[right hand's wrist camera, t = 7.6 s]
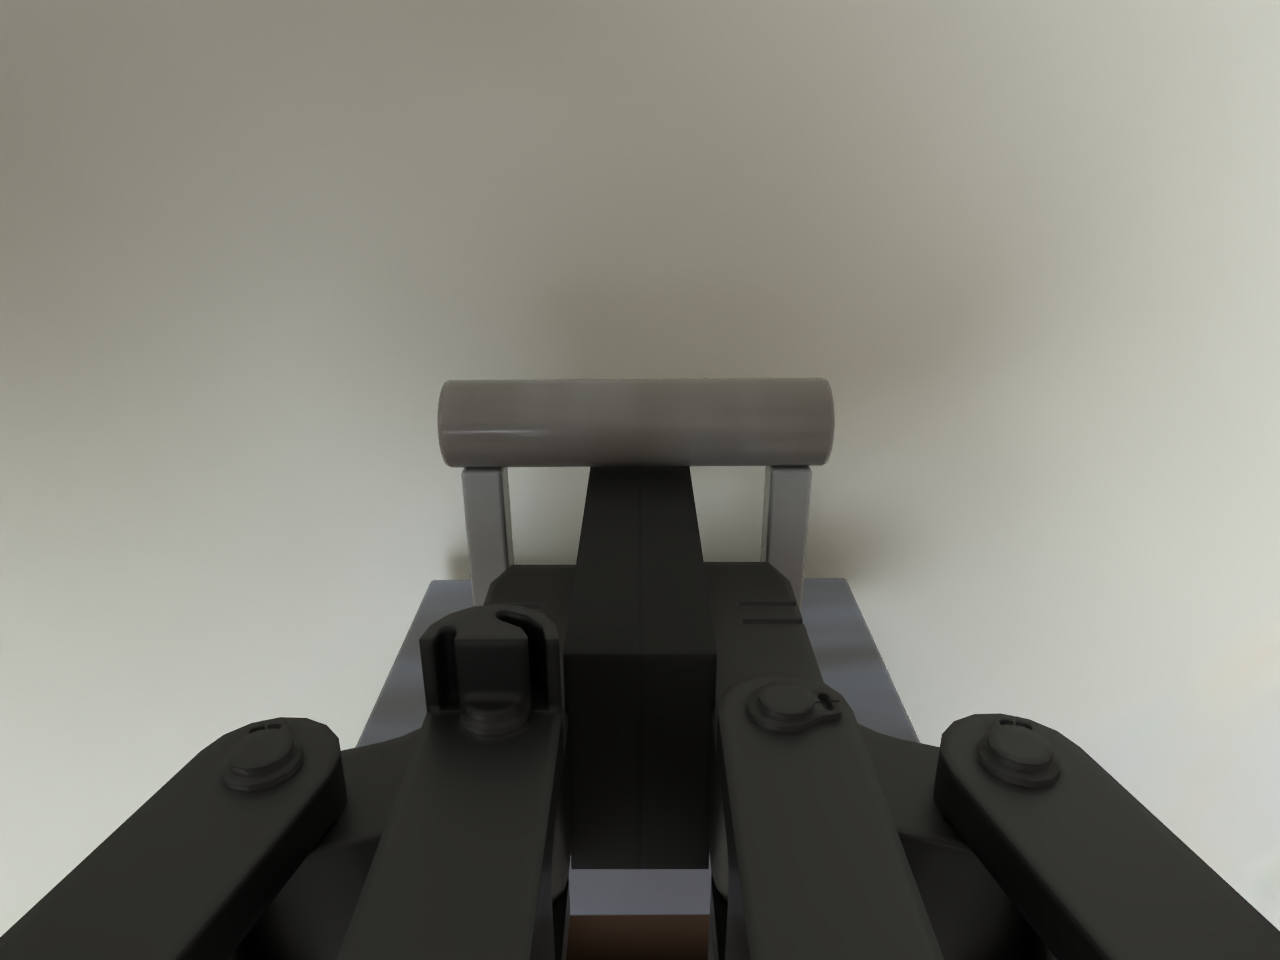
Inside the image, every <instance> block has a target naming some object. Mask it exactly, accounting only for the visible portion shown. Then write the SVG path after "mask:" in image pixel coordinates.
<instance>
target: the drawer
mask: <svg viewBox="0 0 1280 960" xmlns="http://www.w3.org/2000/svg"><path fill="white" fill-rule="evenodd" d="M438 438H439V445H440V450H441V454H442V457H443V460H444V462H445V464H446V465H447V466H450V467H465V468H464V470H463V472H462V486H463V497H464V508H465V519H466V530H467V541H468V552H469V563H470V574H471V580H434V581H431V583H430V585H429V587H428V589H427V591H426V594H425V596H424V598H423V600H422V602H421V605H420V607H419V609H418V611H417V614H416V616H415V618H414V620H413V622H412V625H411V627H410V629H409V631H408V633H407V636H406V638H405V640H404V642H403V644H402V647H401V649H400V651H399V653H398V655H397V658H396V660H395V662H394V664H393V666H392V669H391V671H390V673H389V675H388V677H387V680H386V682H385V684H384V686H383V688H382V691H381V693H380V695H379V697H378V699H377V702H376V704H375V706H374V708H373V710H372V713H371V715H370V717H369V719H368V721H367V724H366V726H365V728H364V730H363V732H362V735H361V737H360V739H359V741H358V743H357V746H356V748H357V747H362V746H366V745H371V744H375V743H380V742H384V741H387V740H391V739H394V738H398V737H401V736H404V735H406V734H408V733H410V732H412V731H414V730H417V729H419V728H421V727H422V724H423V721H424V719H425V716H426V713H427V708H426V699H425V690H424V681H423V672H422V663H421V654H420V645H419V639H420V637H421V636H422V635H423V634H424V632H425V631H426V630H427V629H428V627H429V626H430V625H431V624H433V623H435V622H436V621H438V620H440V619H442V618H443V617H445V616H447V615H448V614H450V613H454V612H457V611H460V610H464V609H467V608H470V607H473V606H483V604H484V601H485V598H486V595H487V592H488V589H489V586H490V583H491V582H493V581H494V580H495V579H496V578H497V577H498V576H500V575H501V574H502V573H503V572H504V571H505V570H506V569H508V568H509V567H510V566H511V565H514V557H513V543H512V528H511V514H510V499H509V485H508V470H507V467H614V466H766V471H765V489H764V508H763V526H762V545H761V562H769V563H770V564H771V565H772V566H773V567H775V568H776V569H777V570H778V571H779V572H780V573H782V574H783V575H784V576H785V577H786V578H787V579H789V580H790V583H791V586H792V589H793V592H794V595H795V598H796V601H797V606H798V607H799V610H800V613H801V616H802V619H803V624H804V625H805V628H806V631H807V634H808V637H809V640H810V643H811V646H812V649H813V652H814V655H815V657H816V660H817V663H818V666H819V669H820V672H821V675H822V678H823V681H824V683H825V684H827V685H828V686H829V687H831V688H832V689H834V690H835V691H837V692H838V693H840V694H841V695H843V697H844V698H845V700H846V701H847V703H848V704H849V706H850V707H851V709H852V710H853V712H854V715H855V717H856V720H857V723H859V724H860V725H863V726H865V727H867V728H869V729H871V730H873V731H876V732H878V733H881V734H885V735H888V736H891V737H895V738H898V739H903V740H907V741H912V742H917V743H920V741H919V739H918V737H917V735H916V733H915V730H914V728H913V726H912V724H911V722H910V719H909V717H908V715H907V713H906V711H905V708H904V706H903V704H902V702H901V700H900V697H899V695H898V693H897V691H896V689H895V686H894V684H893V682H892V680H891V678H890V675H889V673H888V671H887V669H886V667H885V664H884V662H883V660H882V658H881V656H880V653H879V651H878V649H877V647H876V645H875V642H874V640H873V638H872V636H871V634H870V631H869V629H868V627H867V625H866V623H865V620H864V618H863V616H862V614H861V612H860V609H859V607H858V605H857V603H856V601H855V598H854V596H853V594H852V592H851V590H850V587H849V585H848V583H847V581H846V579H843V578H804V567H805V554H806V541H807V528H808V515H809V502H810V489H811V476H812V472H811V469H810V467H809V465H823V464H825V463H827V461H828V459H829V457H830V454H831V450H832V445H833V438H834V402H833V396H832V391H831V388H830V385H829V383H828V381H827V380H825V379H822V378H761V379H576V380H450V381H447V382H445V383H444V385H443V387H442V390H441V393H440V397H439V404H438ZM569 895H570V920H569V931H568V943H567V954H566V960H708V944H709V919H710V895H711V862H710V852H709V869H571V856H570V867H569Z"/></svg>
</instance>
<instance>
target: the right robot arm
mask: <svg viewBox="0 0 1280 960" xmlns="http://www.w3.org/2000/svg"><path fill="white" fill-rule="evenodd" d="M419 645H420V654H421V663H422V672H423V681H424V690H425V699H426V708H427V713H426V716H425V719H424V721H423V724H422V727H421V728H419V729H417V730H414V731H412V732H410V733H408V734H406V735H404V736H401V737H398V738H394V739H391V740H387V741H384V742H380V743H375V744H371V745H366V746H362V747H357V748H352V749H348V750H343V751H340V744H339V738H338V737H337V736H336V735H335V734H334V733H333V732H332V730H331V729H330V728H329V727H328V726H327V725H325V724H322V723H319V722H316V721H313V720H310V719H307V718H283V717H280V718H275V719H270V720H265V721H260V722H255V723H251V724H249V725H246V726H244V727H241V728H239V729H237V730H234V731H232V732H230V733H227V734H225V735H223V736H222V737H220V738H219V739H217V740H216V741H215V742H213V743H212V744H210V745H209V746H207V747H206V748H205V749H203V750H202V751H200V752H199V753H198V754H197V755H196V756H195V757H194V758H193V759H192V760H191V761H190V762H189V763H188V764H186V765H185V766H184V767H183V768H182V769H181V770H180V771H179V772H178V773H177V774H176V775H175V776H174V777H172V778H171V779H170V780H169V781H168V782H167V783H166V784H165V785H164V786H163V787H162V788H161V789H160V790H158V791H157V792H156V793H155V794H154V795H153V796H152V797H151V798H150V799H149V800H148V801H147V802H146V803H145V804H143V805H142V806H141V807H140V808H139V809H138V810H137V811H136V812H135V813H134V814H133V815H132V816H131V817H129V818H128V819H127V820H126V821H125V822H124V823H123V824H122V825H121V826H120V827H119V828H118V829H117V830H115V831H114V832H113V833H112V834H111V835H110V836H109V837H108V838H107V839H106V840H105V841H104V842H103V843H101V844H100V845H99V846H98V847H97V848H96V849H95V850H94V851H93V852H92V853H91V854H90V855H89V856H87V857H86V858H85V859H84V860H83V861H82V862H81V863H80V864H79V865H78V866H77V867H76V868H75V869H74V870H72V871H71V872H70V873H69V874H68V875H67V876H66V877H65V878H64V879H63V880H62V881H61V882H60V883H58V884H57V885H56V886H55V887H54V888H53V889H52V890H51V891H50V892H49V893H48V894H47V895H46V896H44V897H43V898H42V899H41V900H40V901H39V902H38V903H37V904H36V905H35V906H34V907H33V908H32V909H30V910H29V911H28V912H27V913H26V914H25V915H24V916H23V917H22V918H21V919H20V920H19V921H18V922H16V923H15V924H14V925H13V926H12V927H11V928H10V929H9V930H8V931H7V932H6V933H5V934H4V935H3V936H1V937H0V960H566V954H567V943H568V931H569V920H570V895H569V867H570V856H571V869H709V852H710V862H711V895H710V919H709V944H708V960H1280V931H1279V930H1278V929H1277V928H1275V927H1274V926H1273V925H1272V924H1271V923H1270V922H1269V921H1268V920H1267V919H1266V918H1265V917H1264V916H1262V915H1261V914H1260V913H1259V912H1258V911H1257V910H1256V909H1255V908H1254V907H1253V906H1252V905H1251V904H1249V903H1248V902H1247V901H1246V900H1245V899H1244V898H1243V897H1242V896H1241V895H1240V894H1239V893H1238V892H1236V891H1235V890H1234V889H1233V888H1232V887H1231V886H1230V885H1229V884H1228V883H1227V882H1226V881H1225V880H1223V879H1222V878H1221V877H1220V876H1219V875H1218V874H1217V873H1216V872H1215V871H1214V870H1213V869H1212V868H1210V867H1209V866H1208V865H1207V864H1206V863H1205V862H1204V861H1203V860H1202V859H1201V858H1200V857H1199V856H1197V855H1196V854H1195V853H1194V852H1193V851H1192V850H1191V849H1190V848H1189V847H1188V846H1187V845H1185V844H1184V843H1183V842H1182V841H1181V840H1180V839H1179V838H1178V837H1177V836H1176V835H1175V834H1174V833H1172V832H1171V831H1170V830H1169V829H1168V828H1167V827H1166V826H1165V825H1164V824H1163V823H1162V822H1161V821H1159V820H1158V819H1157V818H1156V817H1155V816H1154V815H1153V814H1152V813H1151V812H1150V811H1149V810H1148V809H1146V808H1145V807H1144V806H1143V805H1142V804H1141V803H1140V802H1139V801H1138V800H1137V799H1136V798H1135V797H1133V796H1132V795H1131V794H1130V793H1129V792H1128V791H1127V790H1126V789H1125V788H1124V787H1123V786H1122V785H1120V784H1119V783H1118V782H1117V781H1116V780H1115V779H1114V778H1113V777H1112V776H1111V775H1110V774H1109V773H1107V772H1106V771H1105V770H1104V769H1103V768H1102V767H1101V766H1100V765H1099V764H1098V763H1097V762H1096V761H1094V760H1093V759H1092V758H1091V757H1090V756H1089V755H1088V754H1087V753H1086V752H1085V751H1084V750H1083V749H1081V748H1080V747H1079V746H1077V745H1076V744H1075V743H1073V742H1072V741H1070V740H1069V739H1068V738H1066V737H1065V736H1063V735H1062V734H1060V733H1059V732H1058V731H1056V730H1053V729H1051V728H1048V727H1046V726H1044V725H1041V724H1039V723H1036V722H1034V721H1032V720H1029V719H1024V718H1020V717H1015V716H1010V715H1005V714H974V715H971V716H968V717H965V718H962V719H960V720H957V721H954V722H953V723H952V724H951V725H950V726H949V727H948V728H947V730H946V731H945V732H944V733H943V734H942V738H941V744H940V747H935V746H931V745H926V744H921V743H917V742H912V741H907V740H903V739H898V738H895V737H891V736H888V735H885V734H881V733H878V732H876V731H873V730H871V729H869V728H867V727H865V726H863V725H860V724H859V723H857V720H856V717H855V715H854V712H853V710H852V709H851V707H850V706H849V704H848V703H847V701H846V700H845V698H844V697H843V695H841V694H840V693H838V692H837V691H835V690H834V689H832V688H831V687H829V686H828V685H827V684H825V683H824V681H823V678H822V675H821V672H820V669H819V666H818V663H817V660H816V657H815V655H814V652H813V649H812V646H811V643H810V640H809V637H808V634H807V631H806V628H805V625H804V624H803V619H802V616H801V613H800V610H799V607H798V606H797V601H796V598H795V595H794V592H793V589H792V586H791V583H790V580H789V579H787V578H786V577H785V576H784V575H783V574H782V573H780V572H779V571H778V570H777V569H776V568H775V567H773V566H772V565H771V564H770V563H769V562H703V556H702V549H701V542H700V536H699V529H698V522H697V515H696V509H695V502H694V495H693V488H692V482H691V475H690V468H689V466H614V467H591V468H590V475H589V482H588V489H587V495H586V502H585V509H584V516H583V522H582V529H581V536H580V543H579V549H578V556H577V563H576V565H511V566H510V567H509V568H508V569H506V570H505V571H504V572H503V573H502V574H501V575H500V576H498V577H497V578H496V579H495V580H494V581H493V582H491V583H490V586H489V589H488V592H487V595H486V598H485V601H484V604H483V606H473V607H470V608H467V609H464V610H460V611H457V612H454V613H450V614H448V615H447V616H445V617H443V618H442V619H440V620H438V621H436V622H435V623H433V624H431V625H430V626H429V627H428V629H427V630H426V631H425V632H424V634H423V635H422V636H421V637H420V639H419Z"/></svg>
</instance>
